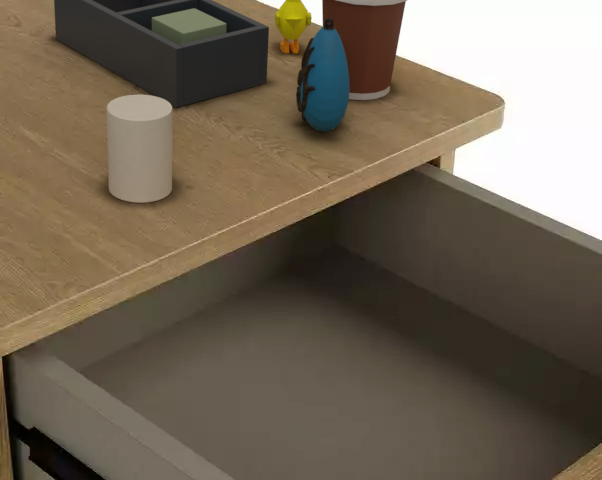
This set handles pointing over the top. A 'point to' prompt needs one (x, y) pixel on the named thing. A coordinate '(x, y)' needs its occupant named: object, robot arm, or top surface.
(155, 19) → the sage block
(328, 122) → the ornament
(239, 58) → the dark grey divided tray
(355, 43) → the coffee cup
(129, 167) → the white cylinder
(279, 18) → the toy figure
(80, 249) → the top surface
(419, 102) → the top surface
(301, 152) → the top surface
